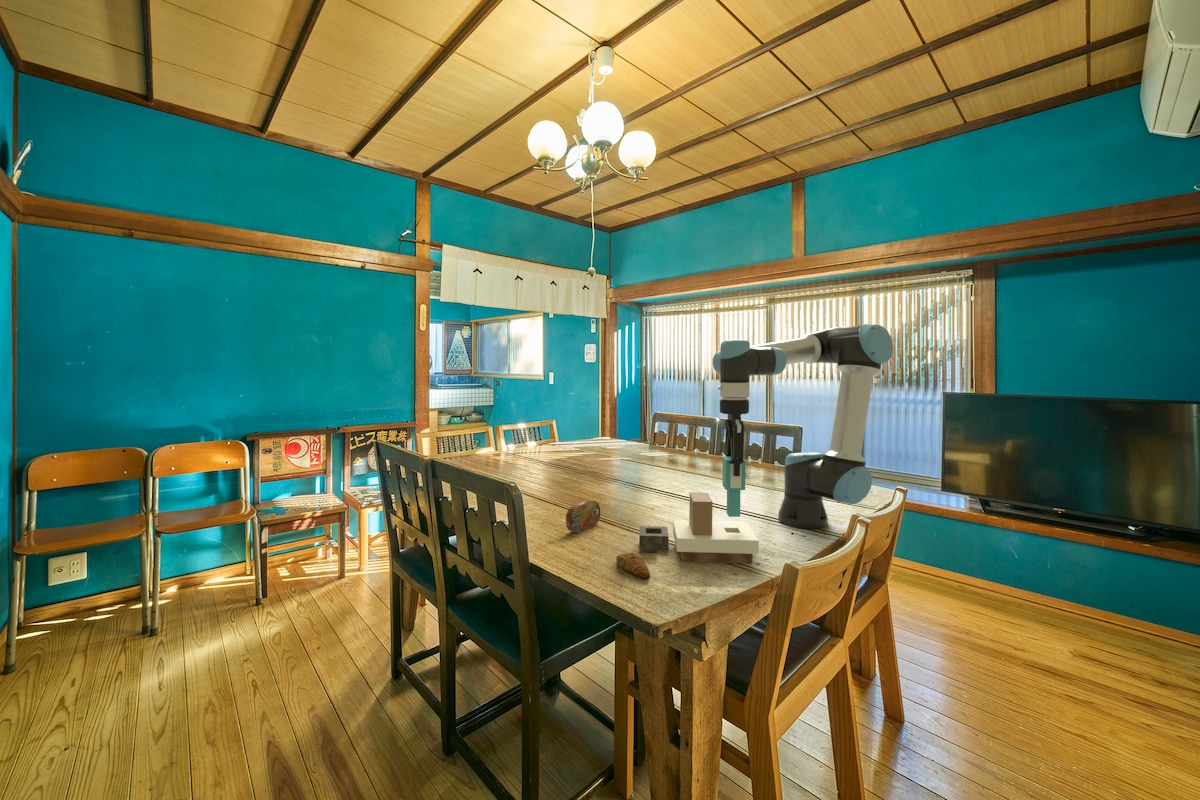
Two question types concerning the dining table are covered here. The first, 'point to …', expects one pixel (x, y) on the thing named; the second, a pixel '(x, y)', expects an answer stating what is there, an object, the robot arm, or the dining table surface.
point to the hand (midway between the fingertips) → (733, 484)
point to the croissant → (633, 565)
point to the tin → (582, 516)
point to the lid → (712, 531)
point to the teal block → (733, 493)
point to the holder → (653, 539)
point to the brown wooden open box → (716, 557)
